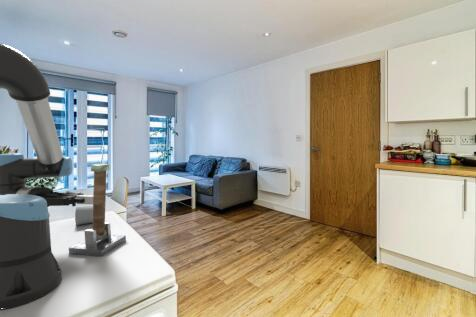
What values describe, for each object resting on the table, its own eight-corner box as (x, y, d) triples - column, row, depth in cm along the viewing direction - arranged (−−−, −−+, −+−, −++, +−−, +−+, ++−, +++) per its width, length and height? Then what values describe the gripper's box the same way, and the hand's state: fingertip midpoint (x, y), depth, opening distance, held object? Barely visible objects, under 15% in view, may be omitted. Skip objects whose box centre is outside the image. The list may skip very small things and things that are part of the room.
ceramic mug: (97, 224, 107) (96, 206, 106) (75, 227, 103) (74, 209, 103) (98, 217, 116) (97, 201, 116) (78, 220, 113) (77, 203, 112)
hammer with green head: (97, 243, 81) (99, 166, 78) (88, 242, 82) (89, 164, 79) (108, 237, 86) (110, 164, 83) (99, 236, 87) (101, 163, 84)
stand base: (102, 256, 77) (100, 234, 76) (69, 253, 79) (67, 232, 79) (125, 240, 89) (124, 221, 88) (96, 238, 91) (95, 219, 90)
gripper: (53, 203, 94) (108, 205, 90) (17, 213, 81) (80, 216, 77) (51, 183, 93) (107, 185, 89) (15, 191, 80) (78, 193, 77)
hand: (94, 200), depth 83 cm, fingers closed
